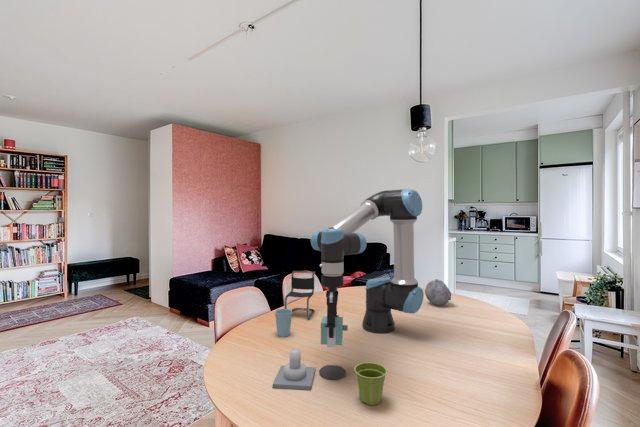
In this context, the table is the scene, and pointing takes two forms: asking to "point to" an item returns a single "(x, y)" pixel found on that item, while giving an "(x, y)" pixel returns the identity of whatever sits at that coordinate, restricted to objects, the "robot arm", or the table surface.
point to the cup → (283, 322)
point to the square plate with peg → (294, 374)
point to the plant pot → (370, 381)
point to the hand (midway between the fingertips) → (332, 341)
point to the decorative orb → (437, 292)
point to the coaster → (332, 372)
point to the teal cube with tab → (339, 330)
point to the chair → (302, 284)
